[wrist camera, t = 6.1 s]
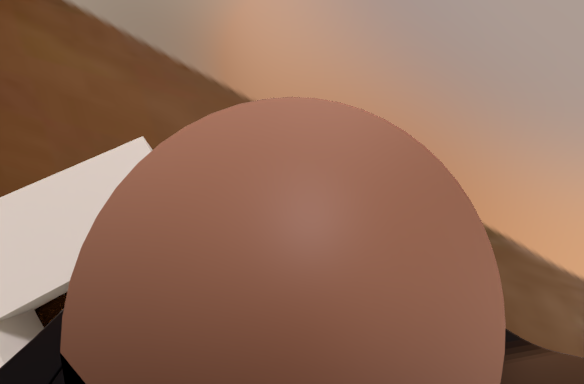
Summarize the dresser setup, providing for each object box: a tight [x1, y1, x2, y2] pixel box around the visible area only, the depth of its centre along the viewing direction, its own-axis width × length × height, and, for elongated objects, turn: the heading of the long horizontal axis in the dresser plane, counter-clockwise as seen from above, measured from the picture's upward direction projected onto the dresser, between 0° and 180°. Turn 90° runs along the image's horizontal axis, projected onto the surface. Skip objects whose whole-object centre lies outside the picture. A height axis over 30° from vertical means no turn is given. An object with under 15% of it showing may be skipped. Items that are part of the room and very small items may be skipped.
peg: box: [60, 97, 506, 384], centre depth 9 cm, size 4×4×13 cm
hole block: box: [0, 136, 152, 368], centre depth 17 cm, size 16×16×4 cm
